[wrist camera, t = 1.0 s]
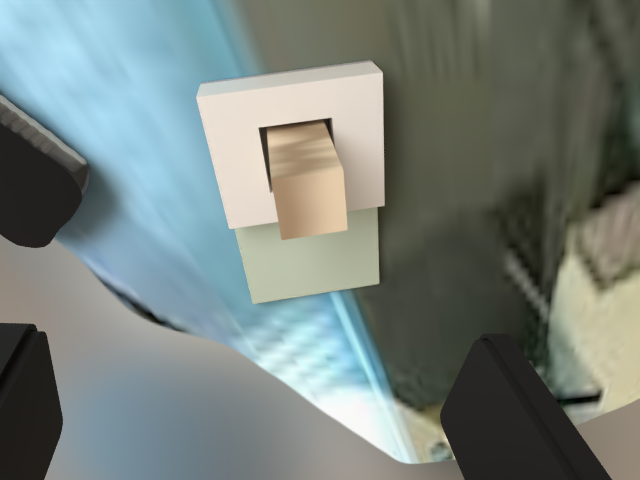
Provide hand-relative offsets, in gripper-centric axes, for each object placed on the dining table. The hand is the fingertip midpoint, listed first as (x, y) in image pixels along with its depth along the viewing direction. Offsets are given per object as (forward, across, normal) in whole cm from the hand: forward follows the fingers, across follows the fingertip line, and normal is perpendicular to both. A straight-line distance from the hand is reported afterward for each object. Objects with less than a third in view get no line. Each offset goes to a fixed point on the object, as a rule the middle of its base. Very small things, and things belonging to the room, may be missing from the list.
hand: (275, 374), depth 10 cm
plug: (+26, -4, +4) cm, 26 cm away
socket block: (+26, -4, +4) cm, 26 cm away
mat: (+26, -7, +14) cm, 30 cm away
